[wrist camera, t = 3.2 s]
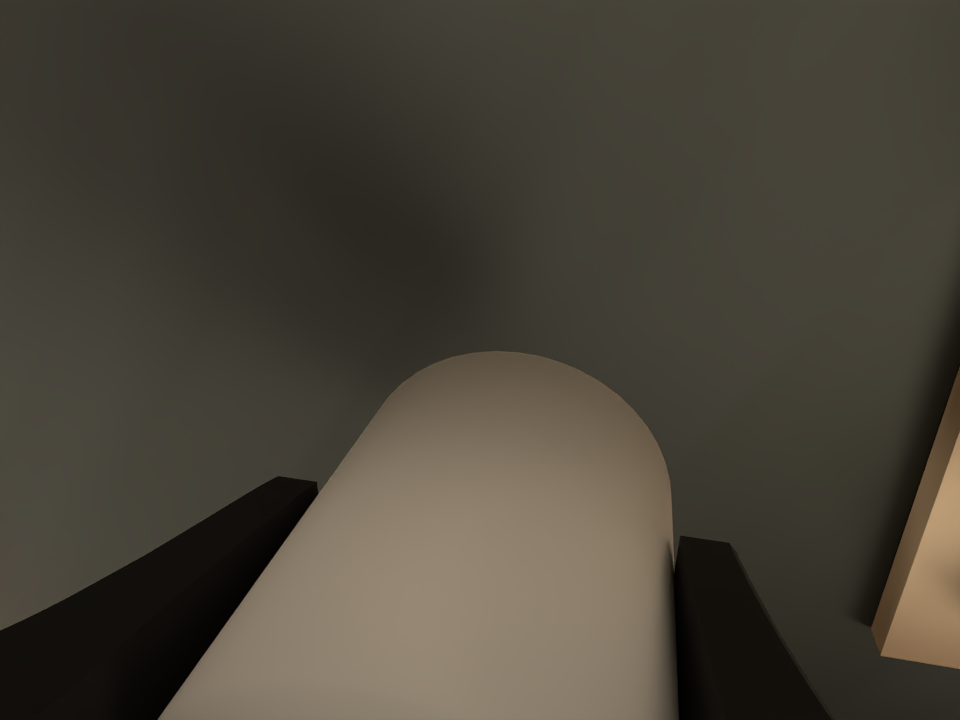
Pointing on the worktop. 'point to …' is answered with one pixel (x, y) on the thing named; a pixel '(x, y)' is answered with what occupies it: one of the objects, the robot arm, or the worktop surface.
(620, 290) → the worktop surface
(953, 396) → the clip holder
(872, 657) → the worktop surface
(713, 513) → the worktop surface
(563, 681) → the paper roll
